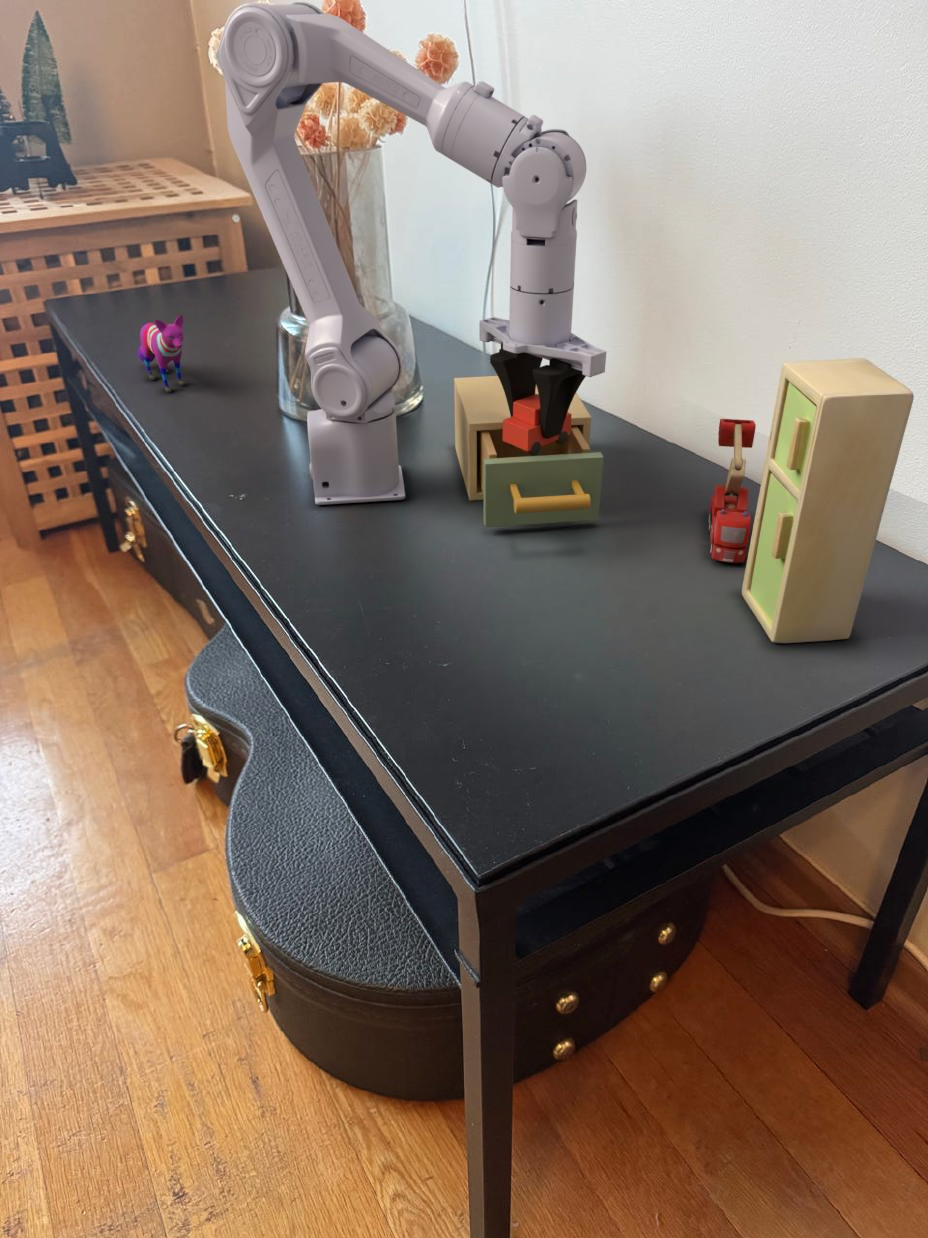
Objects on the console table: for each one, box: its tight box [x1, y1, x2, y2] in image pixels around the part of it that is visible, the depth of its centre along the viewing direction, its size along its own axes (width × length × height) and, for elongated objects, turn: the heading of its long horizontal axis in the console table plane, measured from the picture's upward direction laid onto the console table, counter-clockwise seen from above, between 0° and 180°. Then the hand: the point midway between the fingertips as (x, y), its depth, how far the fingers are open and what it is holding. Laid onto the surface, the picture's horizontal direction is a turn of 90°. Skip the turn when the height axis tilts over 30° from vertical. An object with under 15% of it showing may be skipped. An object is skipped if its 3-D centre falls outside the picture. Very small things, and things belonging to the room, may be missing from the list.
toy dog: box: [137, 314, 186, 394], centre depth 124 cm, size 4×18×10 cm, turn 36°
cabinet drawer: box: [477, 425, 604, 528], centre depth 91 cm, size 17×11×7 cm, turn 7°
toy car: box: [503, 394, 572, 456], centre depth 88 cm, size 6×4×4 cm, turn 132°
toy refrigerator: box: [741, 357, 915, 644], centre depth 71 cm, size 8×7×21 cm
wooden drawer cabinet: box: [453, 375, 592, 501], centre depth 99 cm, size 14×13×9 cm
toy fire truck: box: [707, 418, 757, 564], centre depth 87 cm, size 3×14×10 cm, turn 168°
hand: (536, 429), depth 89 cm, fingers closed on toy car, 3 cm apart
